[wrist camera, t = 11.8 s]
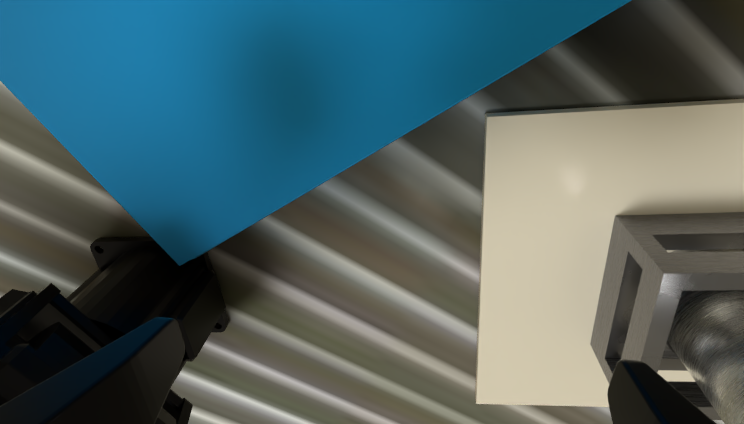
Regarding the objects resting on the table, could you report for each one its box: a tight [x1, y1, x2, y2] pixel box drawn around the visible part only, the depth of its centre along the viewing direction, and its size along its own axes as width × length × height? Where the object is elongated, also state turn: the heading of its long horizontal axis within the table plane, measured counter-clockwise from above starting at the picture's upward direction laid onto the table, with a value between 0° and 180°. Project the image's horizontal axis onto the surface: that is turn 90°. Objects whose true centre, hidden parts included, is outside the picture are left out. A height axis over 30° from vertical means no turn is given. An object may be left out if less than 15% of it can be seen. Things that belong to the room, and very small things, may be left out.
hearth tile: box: [475, 99, 744, 407], centre depth 22 cm, size 20×18×1 cm
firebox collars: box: [590, 212, 744, 420], centre depth 20 cm, size 8×8×5 cm
